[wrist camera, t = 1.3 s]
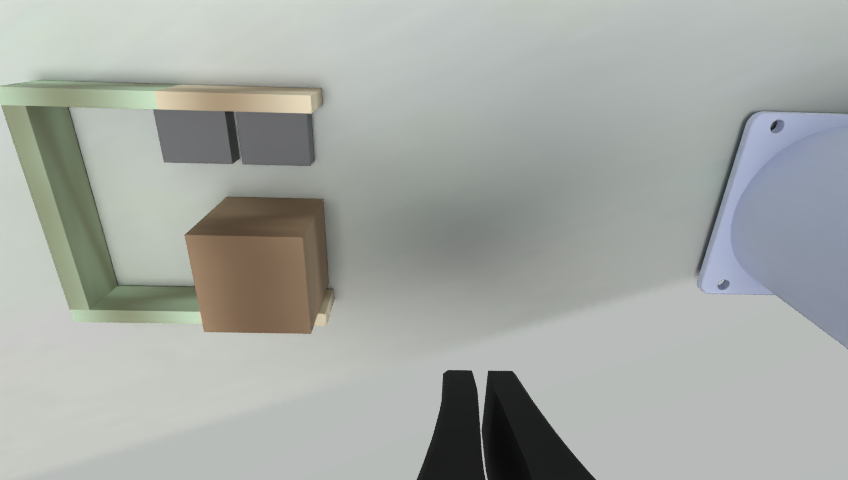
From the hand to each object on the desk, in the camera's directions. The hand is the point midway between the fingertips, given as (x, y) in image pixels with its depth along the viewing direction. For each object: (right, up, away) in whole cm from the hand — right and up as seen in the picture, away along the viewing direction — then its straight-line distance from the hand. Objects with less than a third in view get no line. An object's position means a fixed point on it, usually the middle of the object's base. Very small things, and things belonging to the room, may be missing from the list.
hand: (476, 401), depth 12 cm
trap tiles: (-9, +8, +6) cm, 13 cm away
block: (-8, +4, +8) cm, 12 cm away
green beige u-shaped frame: (-11, +6, +8) cm, 14 cm away
